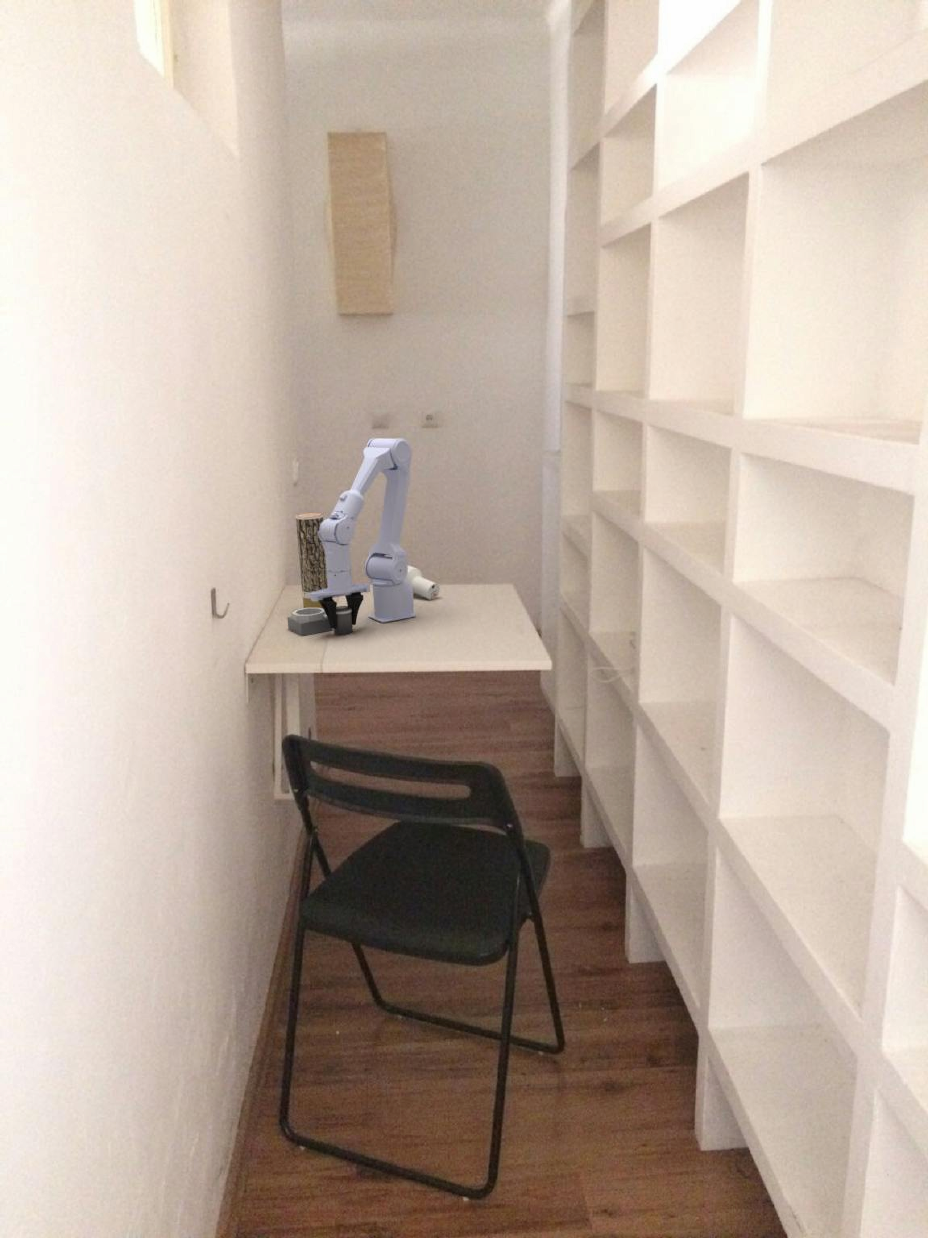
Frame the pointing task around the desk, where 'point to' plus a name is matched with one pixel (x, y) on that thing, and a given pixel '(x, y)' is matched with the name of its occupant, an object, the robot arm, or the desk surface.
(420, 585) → the spotlight
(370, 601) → the desk surface
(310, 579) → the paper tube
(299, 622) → the mount
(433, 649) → the desk surface
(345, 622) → the lens
